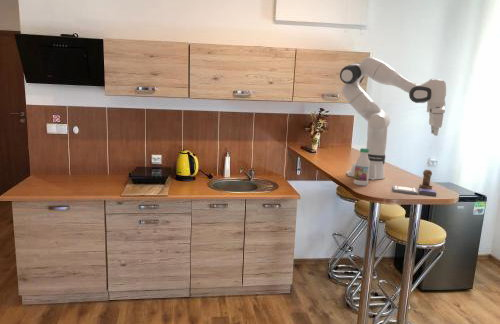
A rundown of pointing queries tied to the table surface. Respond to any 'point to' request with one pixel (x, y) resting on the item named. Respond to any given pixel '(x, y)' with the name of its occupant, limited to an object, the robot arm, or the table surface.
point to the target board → (405, 190)
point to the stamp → (426, 180)
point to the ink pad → (427, 192)
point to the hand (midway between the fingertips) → (434, 134)
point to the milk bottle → (362, 168)
